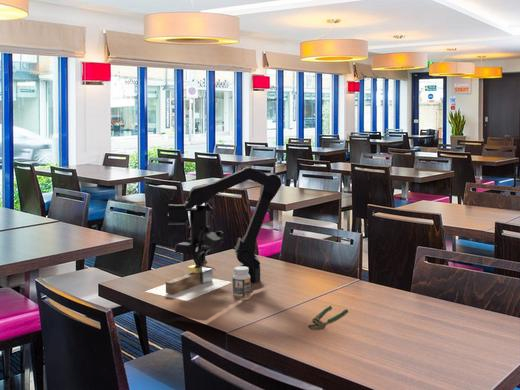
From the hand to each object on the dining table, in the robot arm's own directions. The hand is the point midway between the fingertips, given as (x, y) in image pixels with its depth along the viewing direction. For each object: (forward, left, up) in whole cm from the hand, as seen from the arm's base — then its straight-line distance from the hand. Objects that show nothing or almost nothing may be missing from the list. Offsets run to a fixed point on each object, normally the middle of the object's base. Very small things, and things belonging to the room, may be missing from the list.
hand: (199, 268), depth 209 cm
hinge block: (0, -1, -5) cm, 5 cm away
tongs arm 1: (+1, +9, -5) cm, 10 cm away
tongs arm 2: (-1, +9, -5) cm, 10 cm away
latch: (0, +2, -1) cm, 3 cm away
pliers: (-51, +6, -7) cm, 52 cm away
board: (0, +6, -6) cm, 8 cm away
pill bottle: (-20, +4, -6) cm, 21 cm away
